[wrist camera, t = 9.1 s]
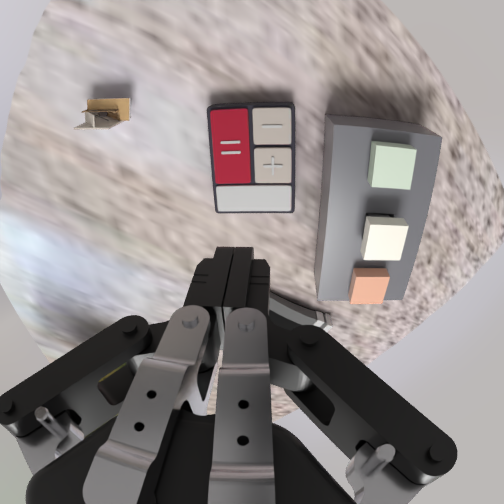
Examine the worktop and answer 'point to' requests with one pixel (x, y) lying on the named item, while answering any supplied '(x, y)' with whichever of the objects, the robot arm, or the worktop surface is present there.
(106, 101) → the architectural model
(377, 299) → the terracotta key
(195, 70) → the worktop surface
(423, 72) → the worktop surface
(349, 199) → the key console
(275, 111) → the calculator
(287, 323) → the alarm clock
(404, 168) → the sage key
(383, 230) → the cream key
